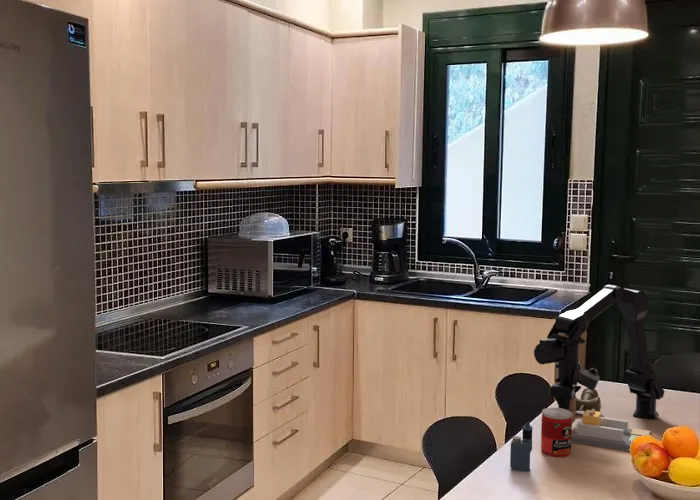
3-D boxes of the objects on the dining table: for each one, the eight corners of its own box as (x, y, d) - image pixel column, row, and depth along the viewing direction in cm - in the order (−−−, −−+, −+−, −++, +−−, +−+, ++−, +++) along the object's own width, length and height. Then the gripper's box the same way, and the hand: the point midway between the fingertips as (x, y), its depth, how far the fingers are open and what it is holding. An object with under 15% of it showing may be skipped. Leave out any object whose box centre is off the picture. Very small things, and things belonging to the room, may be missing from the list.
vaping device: (531, 472, 198) (533, 425, 197) (509, 470, 199) (511, 423, 198) (531, 468, 201) (532, 421, 199) (510, 466, 202) (511, 420, 200)
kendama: (605, 405, 254) (596, 422, 236) (574, 402, 258) (563, 418, 240) (606, 387, 254) (597, 402, 236) (575, 384, 258) (563, 399, 240)
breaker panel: (578, 426, 233) (578, 411, 232) (651, 437, 223) (652, 421, 223) (567, 441, 220) (568, 425, 220) (644, 453, 211) (645, 437, 211)
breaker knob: (585, 427, 227) (586, 407, 226) (600, 429, 225) (601, 409, 225) (582, 432, 223) (583, 412, 222) (597, 434, 221) (597, 414, 220)
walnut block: (561, 417, 230) (561, 393, 229) (575, 419, 228) (576, 395, 227) (557, 421, 226) (558, 397, 225) (572, 423, 224) (573, 399, 224)
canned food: (554, 459, 207) (556, 418, 205) (534, 449, 214) (535, 409, 212) (577, 454, 210) (578, 414, 209) (556, 445, 217) (557, 405, 216)
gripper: (591, 371, 213) (589, 428, 215) (603, 355, 230) (601, 408, 231) (549, 366, 218) (547, 421, 220) (564, 351, 235) (562, 403, 236)
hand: (566, 413), depth 227 cm, fingers closed on walnut block, 4 cm apart
